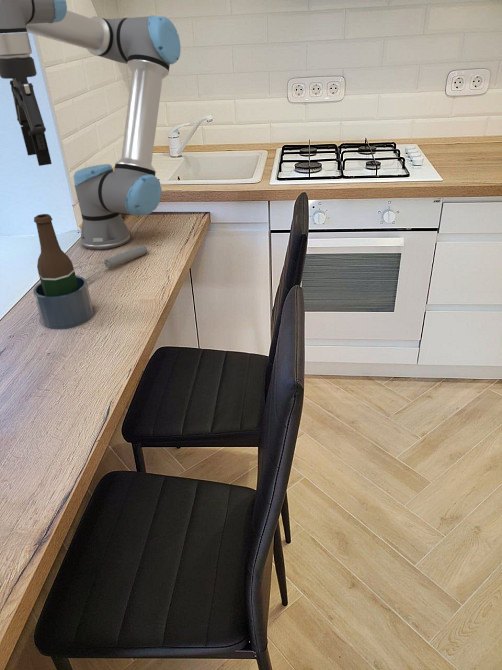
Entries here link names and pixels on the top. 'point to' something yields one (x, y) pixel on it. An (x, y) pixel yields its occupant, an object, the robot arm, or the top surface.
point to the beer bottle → (53, 261)
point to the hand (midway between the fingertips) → (39, 159)
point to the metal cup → (64, 306)
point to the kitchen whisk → (118, 259)
